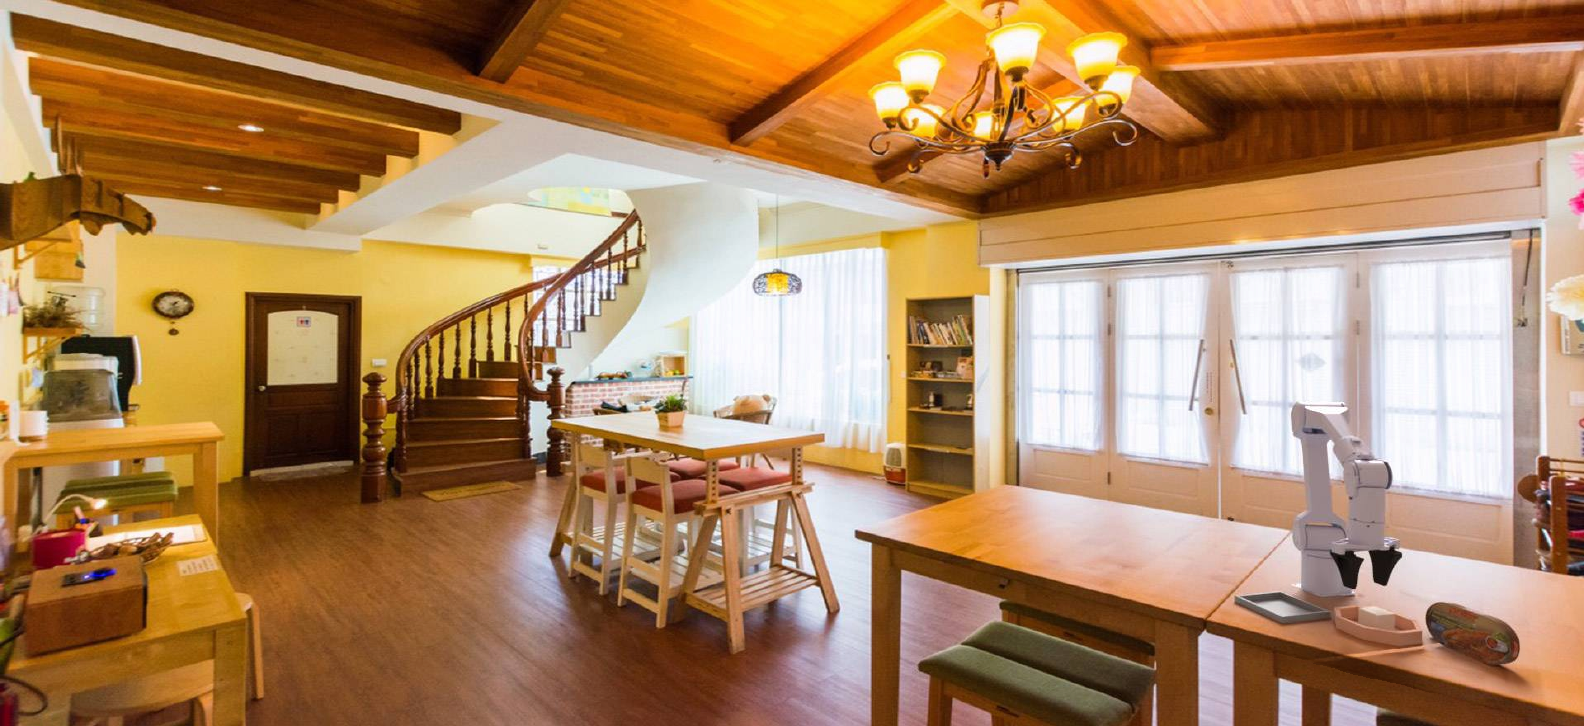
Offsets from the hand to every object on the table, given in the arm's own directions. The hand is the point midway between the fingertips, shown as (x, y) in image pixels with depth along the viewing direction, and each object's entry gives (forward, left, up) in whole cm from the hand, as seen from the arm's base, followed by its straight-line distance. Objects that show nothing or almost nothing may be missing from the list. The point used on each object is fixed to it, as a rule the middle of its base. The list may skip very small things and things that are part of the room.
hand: (1364, 585), depth 142 cm
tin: (-9, +13, -9) cm, 18 cm away
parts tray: (+8, -11, -9) cm, 17 cm away
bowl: (-1, +2, -9) cm, 9 cm away
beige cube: (0, +2, -8) cm, 9 cm away
